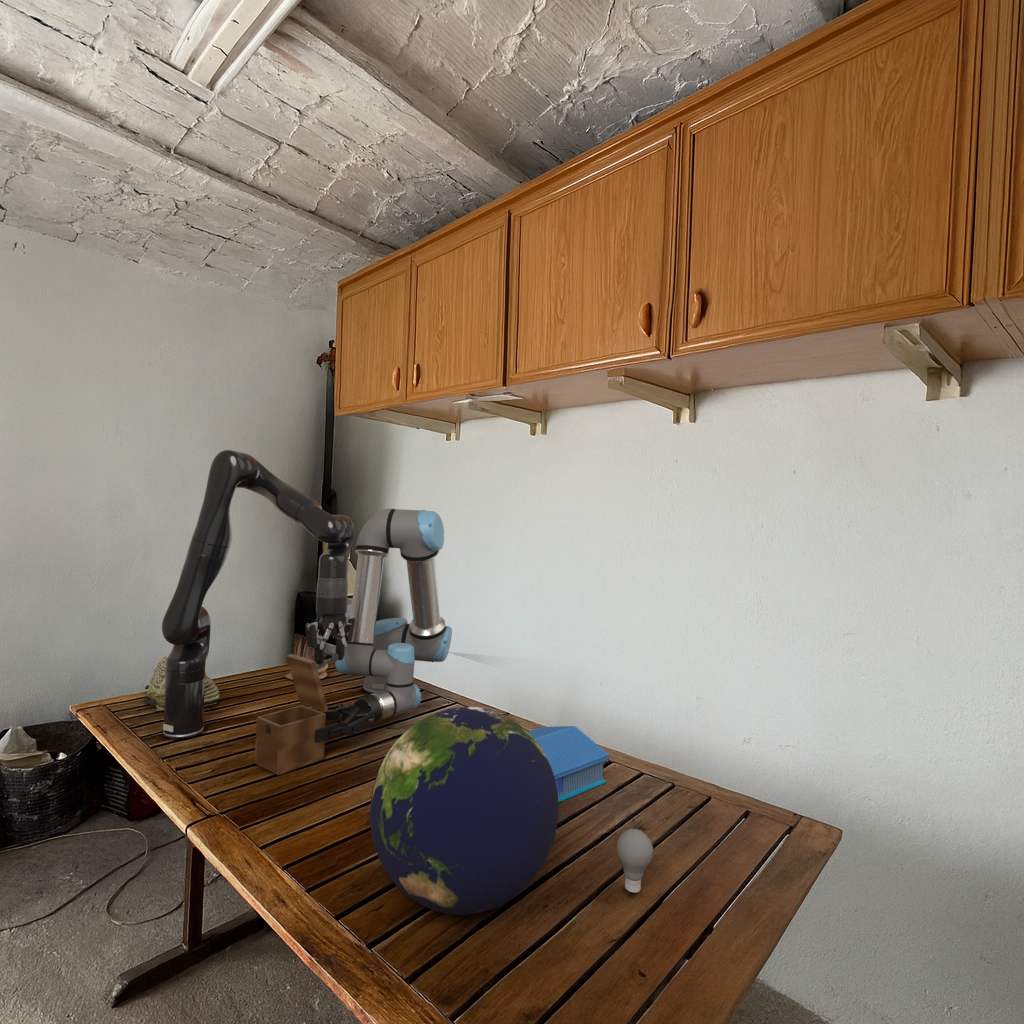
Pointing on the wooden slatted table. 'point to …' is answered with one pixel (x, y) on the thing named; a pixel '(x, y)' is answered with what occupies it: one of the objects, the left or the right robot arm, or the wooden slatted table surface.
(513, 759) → the globe
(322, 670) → the anatomical model
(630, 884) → the light bulb
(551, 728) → the model building
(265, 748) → the chest
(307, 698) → the lid
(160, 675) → the fossil
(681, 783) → the wooden slatted table surface
